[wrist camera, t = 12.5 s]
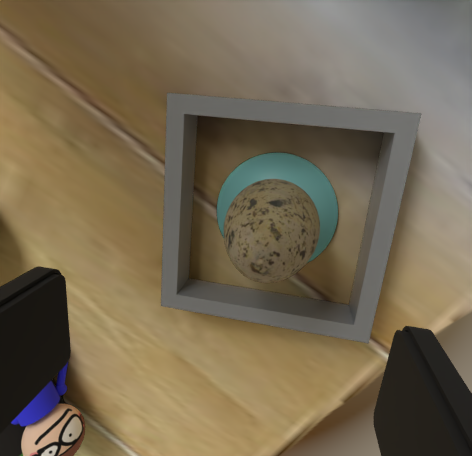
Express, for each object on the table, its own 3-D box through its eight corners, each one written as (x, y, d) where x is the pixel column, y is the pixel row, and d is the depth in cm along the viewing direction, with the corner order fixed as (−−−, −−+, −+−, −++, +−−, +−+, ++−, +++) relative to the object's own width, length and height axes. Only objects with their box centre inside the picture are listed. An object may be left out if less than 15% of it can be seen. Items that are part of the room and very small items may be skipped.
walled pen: (182, 96, 25) (167, 92, 22) (406, 115, 23) (421, 113, 20) (174, 289, 30) (161, 305, 27) (361, 321, 27) (368, 343, 24)
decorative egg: (332, 225, 25) (352, 281, 16) (264, 264, 27) (245, 336, 18) (288, 156, 25) (281, 171, 15) (221, 201, 26) (177, 240, 17)
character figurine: (47, 288, 33) (109, 418, 36) (-16, 306, 34) (49, 430, 37) (-21, 333, 25) (65, 493, 28) (-99, 355, 26) (-8, 505, 30)
